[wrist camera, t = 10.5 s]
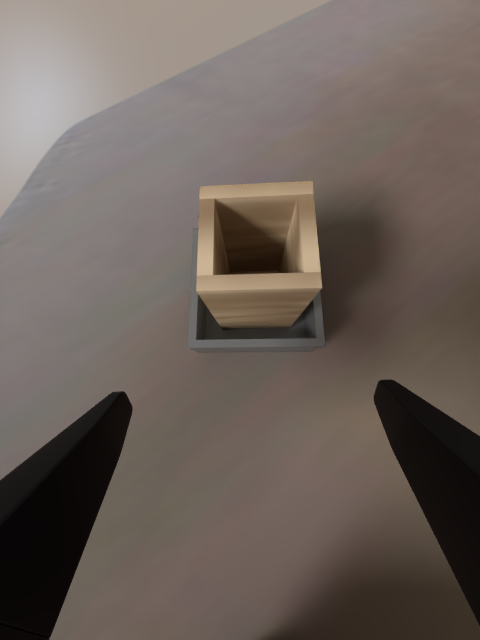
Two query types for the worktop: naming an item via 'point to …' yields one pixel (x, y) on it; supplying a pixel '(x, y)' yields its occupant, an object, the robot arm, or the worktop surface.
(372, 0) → the worktop surface
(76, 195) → the worktop surface
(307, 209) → the tall pine crate
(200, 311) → the grey square tray
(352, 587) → the worktop surface
